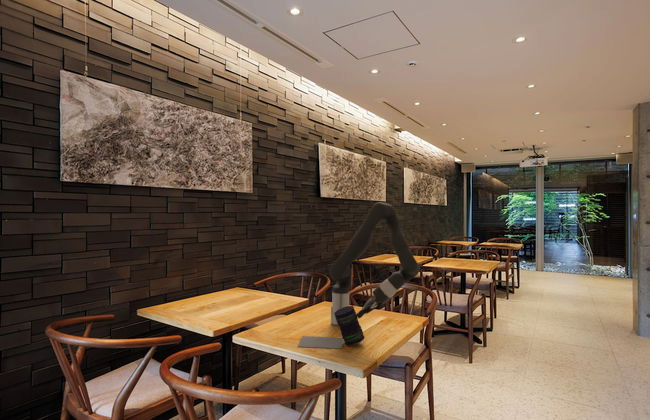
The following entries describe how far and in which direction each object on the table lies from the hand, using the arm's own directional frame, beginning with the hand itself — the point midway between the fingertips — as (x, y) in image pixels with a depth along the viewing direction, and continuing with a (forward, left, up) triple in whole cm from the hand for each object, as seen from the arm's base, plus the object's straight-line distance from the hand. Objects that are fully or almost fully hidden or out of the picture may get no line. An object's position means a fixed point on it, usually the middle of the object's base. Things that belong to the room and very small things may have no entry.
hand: (357, 316), depth 171 cm
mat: (-17, -4, -13) cm, 21 cm away
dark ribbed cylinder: (-1, 0, -11) cm, 11 cm away
